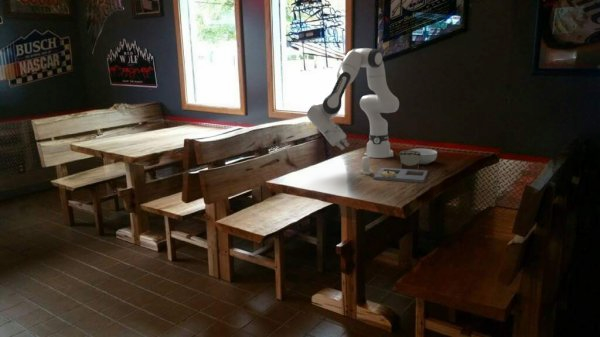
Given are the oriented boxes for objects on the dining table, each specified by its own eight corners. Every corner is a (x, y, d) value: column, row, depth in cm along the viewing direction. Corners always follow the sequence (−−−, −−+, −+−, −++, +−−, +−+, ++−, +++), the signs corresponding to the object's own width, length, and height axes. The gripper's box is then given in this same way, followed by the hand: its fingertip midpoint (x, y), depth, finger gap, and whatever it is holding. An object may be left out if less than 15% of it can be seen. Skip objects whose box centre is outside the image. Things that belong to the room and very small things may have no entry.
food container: (421, 167, 285) (421, 150, 282) (420, 169, 279) (421, 152, 276) (399, 166, 288) (399, 149, 285) (398, 169, 282) (399, 152, 280)
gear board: (381, 170, 280) (381, 161, 279) (427, 173, 271) (428, 164, 270) (373, 179, 262) (373, 170, 261) (423, 182, 253) (423, 173, 252)
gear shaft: (360, 170, 280) (360, 155, 278) (373, 171, 278) (373, 156, 275) (357, 174, 274) (357, 158, 271) (370, 175, 271) (370, 159, 269)
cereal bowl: (406, 165, 290) (406, 153, 288) (409, 159, 305) (409, 148, 304) (436, 166, 285) (436, 154, 283) (437, 160, 300) (437, 149, 299)
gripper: (327, 128, 266) (344, 147, 265) (337, 122, 285) (354, 140, 284) (319, 136, 269) (336, 154, 268) (330, 130, 288) (346, 147, 287)
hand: (345, 147), depth 276 cm, fingers open, 8 cm apart
